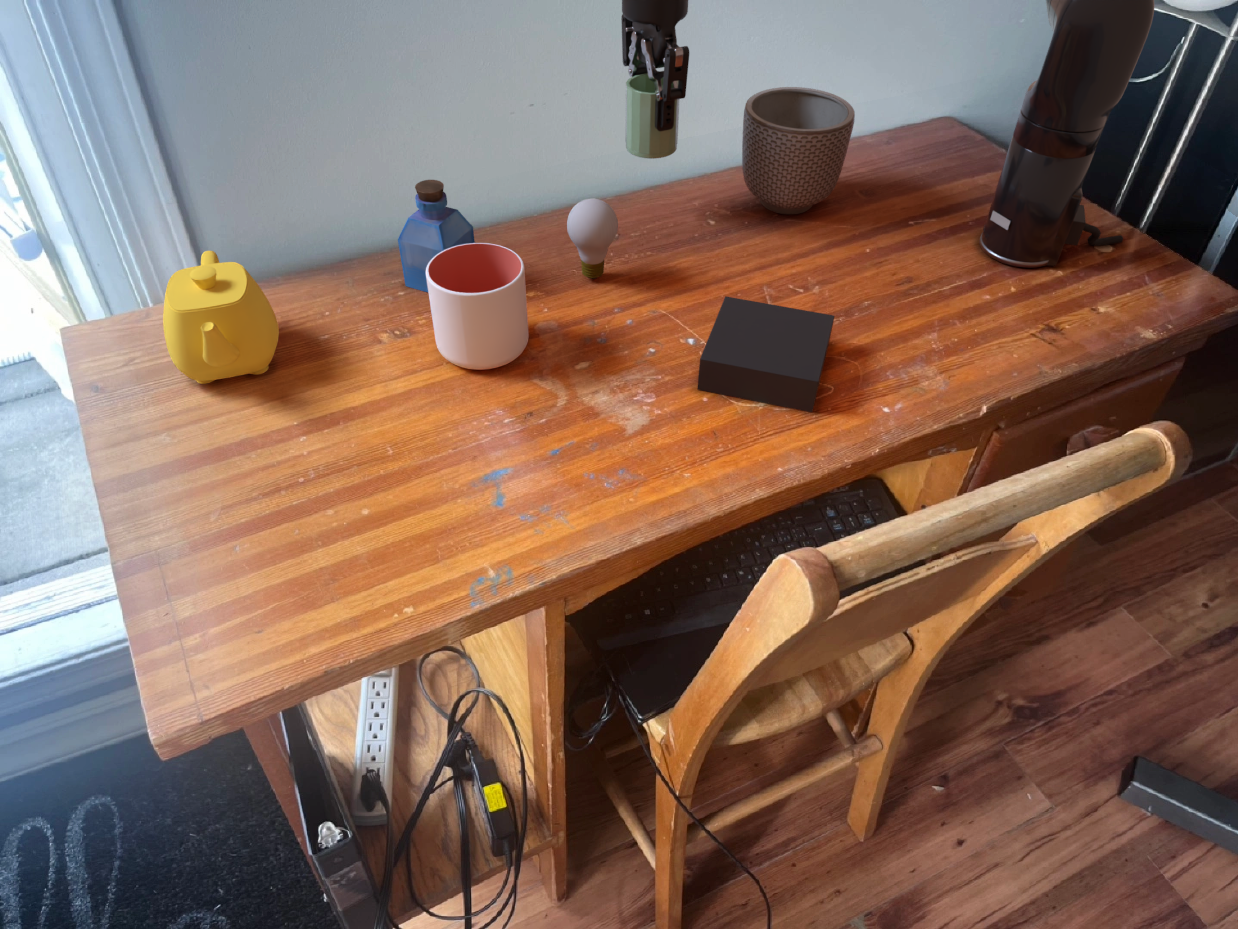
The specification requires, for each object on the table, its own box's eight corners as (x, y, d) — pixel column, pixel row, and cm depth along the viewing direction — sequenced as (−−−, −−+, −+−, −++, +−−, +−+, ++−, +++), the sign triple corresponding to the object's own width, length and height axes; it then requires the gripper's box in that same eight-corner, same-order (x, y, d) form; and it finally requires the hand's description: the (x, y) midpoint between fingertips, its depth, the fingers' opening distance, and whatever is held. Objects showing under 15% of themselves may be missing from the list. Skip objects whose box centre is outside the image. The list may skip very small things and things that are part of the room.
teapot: (291, 403, 95) (265, 315, 88) (176, 425, 93) (139, 336, 85) (279, 307, 108) (256, 223, 100) (177, 324, 105) (145, 238, 98)
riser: (828, 345, 104) (834, 315, 101) (812, 412, 96) (818, 381, 93) (722, 326, 106) (725, 295, 104) (697, 389, 98) (699, 358, 95)
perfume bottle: (477, 273, 114) (468, 180, 105) (450, 298, 110) (437, 204, 101) (434, 261, 116) (421, 168, 107) (405, 286, 111) (389, 192, 103)
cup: (514, 381, 99) (508, 300, 92) (423, 368, 100) (410, 287, 93) (539, 327, 106) (535, 248, 99) (454, 315, 107) (444, 237, 100)
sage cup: (682, 139, 120) (685, 76, 114) (669, 161, 115) (672, 96, 110) (634, 133, 121) (634, 70, 116) (619, 154, 117) (619, 90, 111)
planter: (728, 220, 124) (738, 124, 115) (741, 173, 134) (751, 81, 125) (834, 234, 122) (853, 137, 113) (840, 184, 131) (857, 91, 123)
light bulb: (627, 277, 113) (629, 201, 107) (593, 297, 110) (592, 219, 103) (592, 259, 116) (591, 183, 109) (558, 277, 113) (555, 201, 106)
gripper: (715, -15, 101) (705, 136, 112) (659, -51, 110) (655, 91, 122) (651, -7, 98) (648, 146, 110) (600, -44, 108) (601, 100, 120)
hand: (651, 117), depth 116 cm, fingers closed on sage cup, 6 cm apart
